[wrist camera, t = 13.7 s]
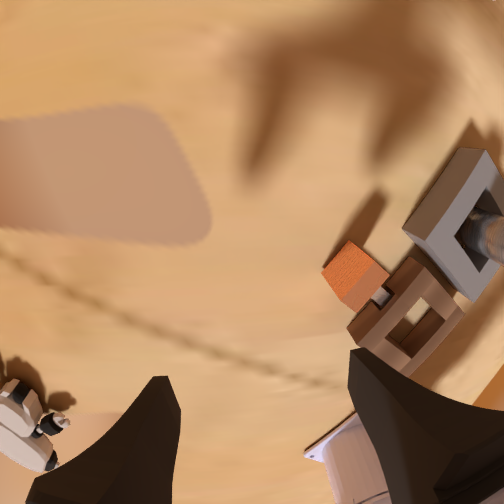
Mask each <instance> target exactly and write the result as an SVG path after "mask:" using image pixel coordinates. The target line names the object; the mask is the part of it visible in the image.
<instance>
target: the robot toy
mask: <svg viewBox="0 0 504 504" xmlns="http://www.w3.org/2000/svg"><path fill="white" fill-rule="evenodd" d="M19 381H20V380H18V379H15V378H14V379H13V380H12V381H10V382H6V383H5V385H4V386H3V387H2V388H1V390H0V451H1V452H2V453H3V454H5V455H6V456H7V457H9V458H10V459H12V460H14V461H15V462H17V463H18V464H20V465H22V466H24V467H26V468H28V469H30V470H32V471H36V472H41V473H42V472H43V471H50V470H52V469H54V468H55V469H56V468H58V466H59V462H57V460H58V458H57V455H56V452H55V451H54V450H53V444H52V443H51V442H50V441H49V439H48V438H47V437H46V436H45V435H44V434H43V432H44V433H46V434H48V435H50V436H52V435H55V434H58V433H60V432H61V431H62V430H63V428H67V427H68V426H69V425H70V421H69V419H64V417H65V415H63V414H62V413H61V412H59V413H54V412H53V413H51V414H48V415H46V416H45V417H44V418H42V419H41V422H40V425H39V424H37V423H38V421H39V419H40V418H41V416H42V414H43V410H42V407H41V405H40V403H41V402H39V400H38V395H37V394H36V393H35V392H34V391H33V390H32V389H31V391H30V392H29V389H28V387H27V386H26V385H25V384H23V383H19Z"/></svg>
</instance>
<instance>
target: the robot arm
mask: <svg viewBox="0 0 504 504" xmlns="http://www.w3.org/2000/svg"><path fill="white" fill-rule="evenodd" d="M348 390H349V393H350V396H351V399H352V402H353V405H354V407H355V410H356V413H355V414H353V415H352V416H351V417H350V418H349V419H347V420H346V421H345V422H344V423H342V424H341V425H340V426H339V427H337V428H336V429H335V430H334V431H332V432H331V433H330V434H328V435H327V436H326V437H324V438H323V439H322V440H320V441H319V442H318V443H316V444H315V445H314V446H312V447H311V448H309V449H308V450H307V451H305V452H304V453H303V455H304V457H305V458H309V459H312V460H316V461H319V462H323V463H324V464H325V468H326V471H327V475H328V478H329V482H330V486H331V489H332V493H333V496H334V500H335V503H336V504H504V411H498V410H491V409H485V408H480V407H476V406H472V405H468V404H464V403H461V402H458V401H455V400H452V399H450V398H447V397H444V396H442V395H440V394H437V393H435V392H433V391H431V390H429V389H427V388H425V387H423V386H421V385H419V384H418V383H416V382H414V381H412V380H411V379H409V378H407V377H406V376H404V375H403V374H401V373H400V372H398V371H397V370H395V369H394V368H392V367H391V366H390V365H388V364H387V363H385V362H384V361H383V360H381V359H380V358H379V357H377V356H376V355H375V354H373V353H372V352H371V351H369V350H368V349H367V348H365V347H362V348H358V349H353V350H350V362H349V375H348ZM180 425H181V409H180V407H179V404H178V402H177V399H176V397H175V394H174V391H173V389H172V386H171V383H170V381H169V378H168V376H153V377H152V379H151V380H150V381H149V382H148V384H147V385H146V386H145V388H144V389H143V390H142V392H141V393H140V394H139V396H138V397H137V398H136V399H135V401H134V402H133V403H132V404H131V406H130V407H129V408H128V409H127V411H126V412H125V413H124V414H123V415H122V417H121V418H120V419H119V420H118V421H117V422H116V423H115V424H114V425H113V427H111V428H110V429H109V430H108V431H107V432H106V433H105V435H103V436H102V437H101V438H100V439H99V440H98V441H96V442H95V443H94V444H93V445H92V446H90V447H89V448H87V449H86V450H85V451H84V452H82V453H81V454H80V455H78V456H77V457H75V458H74V459H72V460H70V461H69V462H67V463H65V464H64V465H62V466H60V467H58V468H56V469H54V470H52V471H50V472H48V473H46V474H43V475H41V476H39V477H36V478H35V479H34V482H33V484H32V486H31V489H30V491H29V494H28V496H27V499H26V501H25V502H26V504H172V481H173V472H174V466H175V460H176V454H177V448H178V442H179V436H180Z"/></svg>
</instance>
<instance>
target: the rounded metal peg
mask: <svg viewBox="0 0 504 504" xmlns="http://www.w3.org/2000/svg"><path fill="white" fill-rule="evenodd" d="M454 238H455V239H456V240H457V242H459V243H461V244H463V245H465V246H467V247H468V248H470V249H472V250H474V251H476V252H478V253H480V254H482V255H484V256H486V257H487V258H489V259H491V260H493V261H495V262H497V263H498V264H500V265H502V266H504V217H503V216H500V215H497V214H495V213H492V212H489V211H486V210H483V209H480V208H477V207H473V208H472V210H471V211H470V213H469V214H468V216H467V217H466V219H465V220H464V222H463V223H462V225H461V226H460V228H459V229H458V231H457V232H456V233H455V235H454Z"/></svg>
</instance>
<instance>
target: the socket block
mask: <svg viewBox="0 0 504 504" xmlns="http://www.w3.org/2000/svg"><path fill="white" fill-rule="evenodd" d="M386 285H387V286H388V287H389V288H390V289H391V290H392V291H393V292H394V293H395V295H394V296H393V297H392V299H391V300H390V301H389V302H388V303H387V304H386V305H385V307H384V308H383V309H382V310H381V309H380V308H379V307H378V306H376V305H375V304H374V303H373V302H372V301H371V302H370V303H369V304H368V305H367V307H366V308H365V309H364V310H363V311H362V312H361V313H360V314H359V315H358V316H357V318H356V319H355V320H354V321H353V322H352V323H351V324H350V325H349V326H348V327H347V330H348V331H349V333H350V335H351V336H352V338H353V339H354V341H355V343H356V344H357V345H358V346H359V347H361V348H362V347H365V348H367V349H368V350H369V351H371V352H372V353H373V354H375V355H376V356H377V357H379V358H380V359H381V360H383V361H384V362H385V363H387V364H388V365H390V366H391V367H392V368H394V369H395V370H397V371H398V372H400V373H401V374H403V375H404V376H406V377H407V378H408V377H409V376H410V375H411V374H412V373H413V372H414V371H415V370H416V369H417V368H418V367H419V366H420V365H421V364H422V363H423V362H424V361H425V360H426V359H427V358H428V357H429V356H430V355H431V354H432V352H433V351H434V350H435V349H436V348H437V347H438V346H439V345H440V344H441V342H442V341H443V340H444V339H445V338H446V337H447V336H448V334H449V333H450V332H451V331H452V330H453V329H454V327H455V326H456V325H457V324H458V322H459V321H460V320H461V319H462V318H463V316H464V315H465V314H464V312H463V311H462V310H461V309H460V307H459V306H458V305H457V304H456V302H455V301H454V300H453V299H452V298H451V296H450V295H449V294H448V293H447V292H446V290H445V289H444V288H443V287H442V286H441V285H440V283H439V282H438V281H437V280H436V279H435V278H434V277H433V275H432V274H431V273H430V272H429V271H428V270H427V269H426V268H425V267H424V266H423V265H421V264H420V263H419V262H417V261H416V260H414V259H413V258H411V257H410V256H409V257H408V258H407V259H406V260H405V262H404V263H403V264H402V265H401V267H400V268H399V269H398V270H397V271H396V273H395V274H394V275H393V276H392V278H391V279H390V280H389V281H388V282H387V284H386ZM420 297H422V298H423V299H424V300H425V301H426V302H427V303H428V304H429V305H430V306H431V307H432V308H431V309H430V311H429V312H428V313H427V314H426V315H425V317H424V318H423V319H422V320H421V321H420V322H419V323H418V325H417V326H416V327H415V328H414V329H413V330H412V331H411V332H410V334H409V335H408V336H407V337H406V338H405V339H404V340H403V341H402V342H401V343H400V344H399V343H398V342H397V341H395V340H394V339H393V338H392V337H390V336H389V335H388V333H389V332H390V331H391V330H392V329H393V328H394V327H395V326H396V325H397V324H398V322H399V321H400V320H401V319H402V318H403V317H404V316H405V315H406V313H407V312H408V311H409V310H410V309H411V308H412V306H413V305H414V304H415V303H416V302H417V300H418V299H419V298H420Z"/></svg>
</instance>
